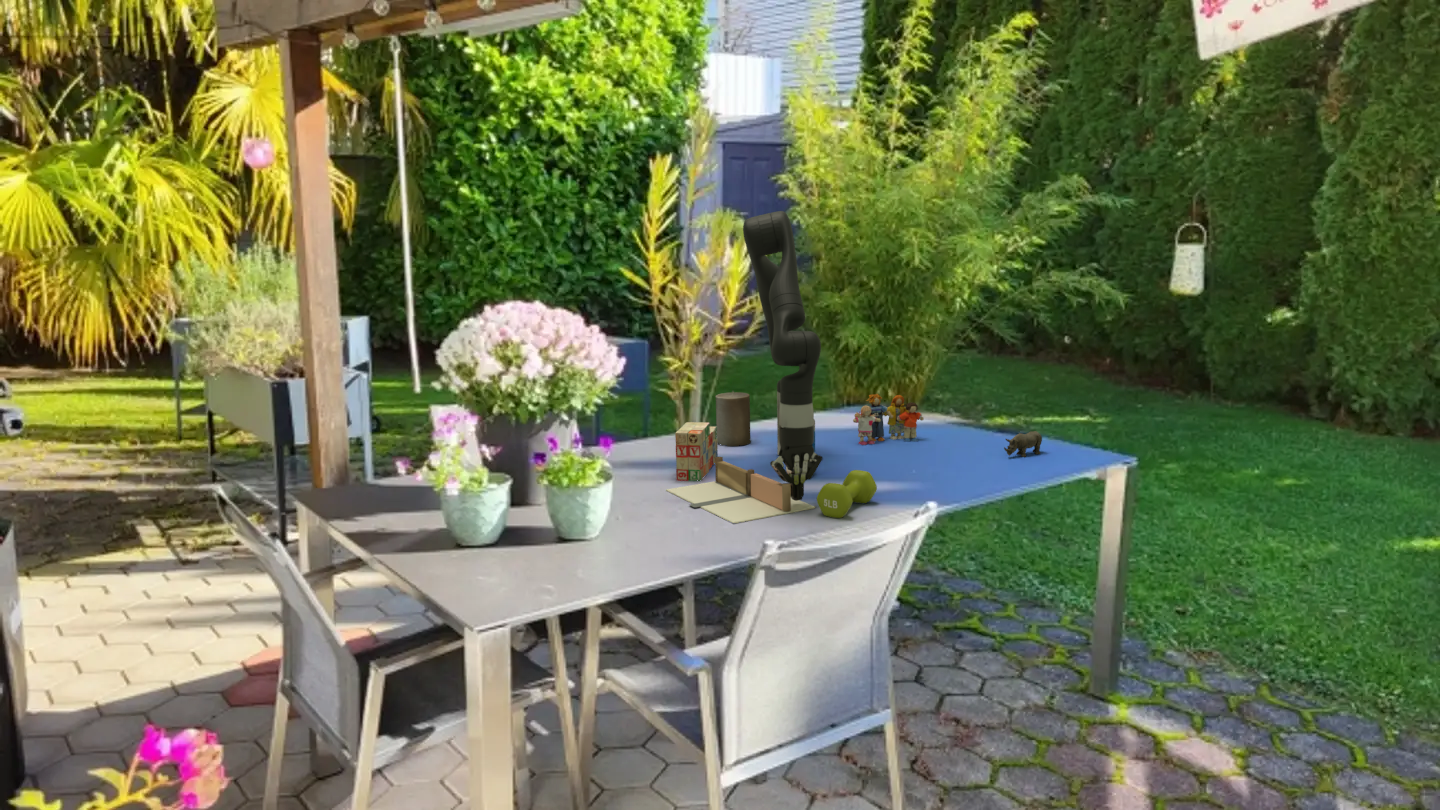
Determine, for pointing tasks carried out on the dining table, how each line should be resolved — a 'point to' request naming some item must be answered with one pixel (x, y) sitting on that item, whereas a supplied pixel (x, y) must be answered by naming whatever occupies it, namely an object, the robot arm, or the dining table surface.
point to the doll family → (898, 420)
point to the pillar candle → (733, 418)
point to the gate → (771, 492)
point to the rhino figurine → (1024, 443)
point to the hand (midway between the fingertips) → (796, 499)
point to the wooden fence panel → (733, 476)
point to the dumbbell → (846, 493)
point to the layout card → (731, 502)
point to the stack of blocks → (695, 450)
